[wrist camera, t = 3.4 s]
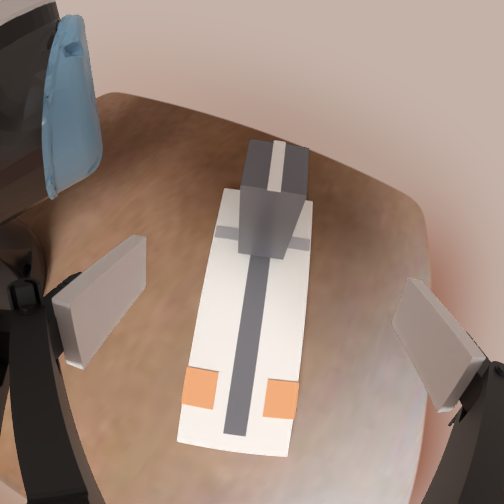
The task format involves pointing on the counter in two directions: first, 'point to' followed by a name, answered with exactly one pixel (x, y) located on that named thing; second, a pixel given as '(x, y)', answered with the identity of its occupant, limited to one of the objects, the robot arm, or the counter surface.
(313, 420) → the counter surface
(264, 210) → the slider tab
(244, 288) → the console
